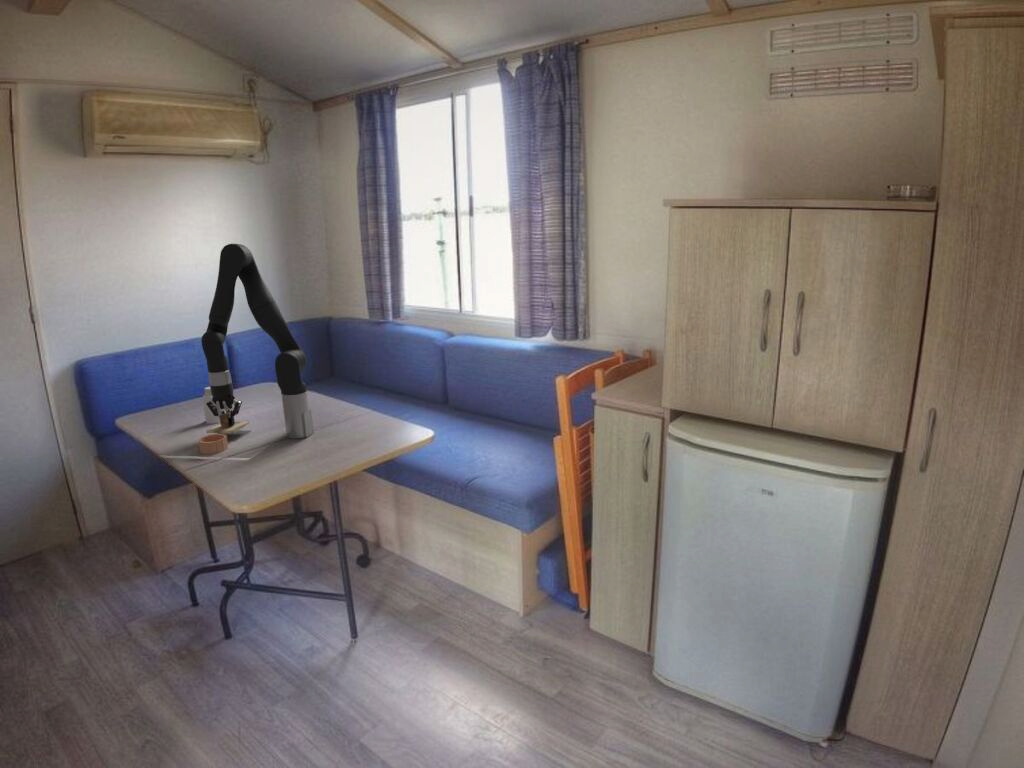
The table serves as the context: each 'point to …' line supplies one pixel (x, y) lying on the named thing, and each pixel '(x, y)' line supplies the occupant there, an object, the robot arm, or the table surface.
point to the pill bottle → (208, 414)
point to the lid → (227, 426)
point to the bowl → (213, 443)
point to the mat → (235, 435)
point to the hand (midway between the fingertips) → (228, 426)
